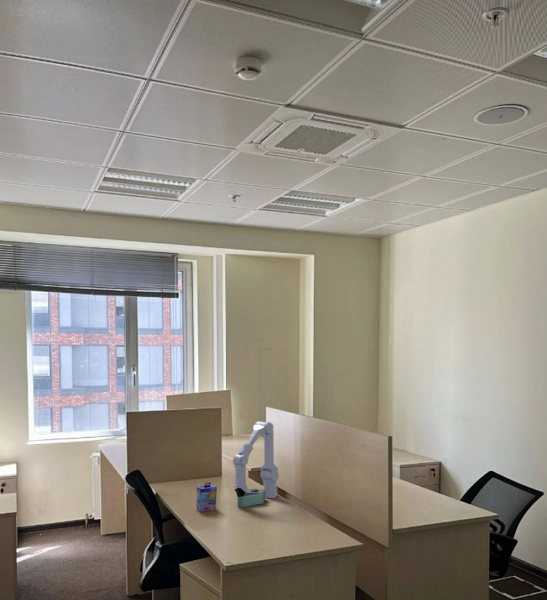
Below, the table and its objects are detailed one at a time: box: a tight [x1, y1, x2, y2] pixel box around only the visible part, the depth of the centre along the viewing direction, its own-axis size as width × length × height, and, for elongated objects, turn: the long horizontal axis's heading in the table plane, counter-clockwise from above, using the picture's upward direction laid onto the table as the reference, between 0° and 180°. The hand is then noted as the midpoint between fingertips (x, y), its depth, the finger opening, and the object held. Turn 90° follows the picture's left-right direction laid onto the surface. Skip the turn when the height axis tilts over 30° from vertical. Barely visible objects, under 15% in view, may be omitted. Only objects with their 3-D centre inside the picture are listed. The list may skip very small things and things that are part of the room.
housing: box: [244, 488, 266, 502], centre depth 333 cm, size 8×11×6 cm
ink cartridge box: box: [196, 482, 218, 513], centre depth 317 cm, size 10×6×14 cm, turn 122°
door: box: [236, 494, 265, 508], centre depth 324 cm, size 1×16×5 cm, turn 117°
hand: (240, 501), depth 323 cm, fingers closed
